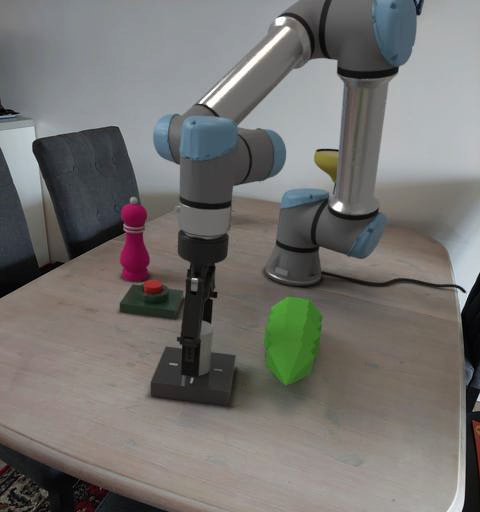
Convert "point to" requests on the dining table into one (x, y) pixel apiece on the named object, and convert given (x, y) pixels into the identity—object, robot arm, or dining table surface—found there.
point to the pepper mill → (134, 242)
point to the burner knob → (205, 347)
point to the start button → (152, 287)
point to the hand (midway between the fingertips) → (197, 351)
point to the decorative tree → (292, 339)
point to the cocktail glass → (328, 162)
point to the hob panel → (193, 379)
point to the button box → (152, 302)
